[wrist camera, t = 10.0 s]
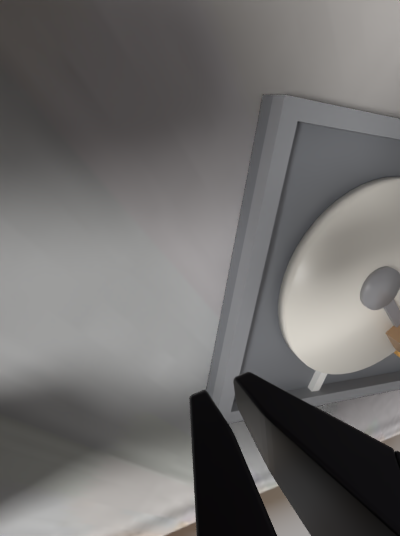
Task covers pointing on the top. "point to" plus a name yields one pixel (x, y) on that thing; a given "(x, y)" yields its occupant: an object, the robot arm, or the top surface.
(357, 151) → the dial board
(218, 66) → the top surface
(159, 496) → the top surface
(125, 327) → the top surface
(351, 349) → the dial
